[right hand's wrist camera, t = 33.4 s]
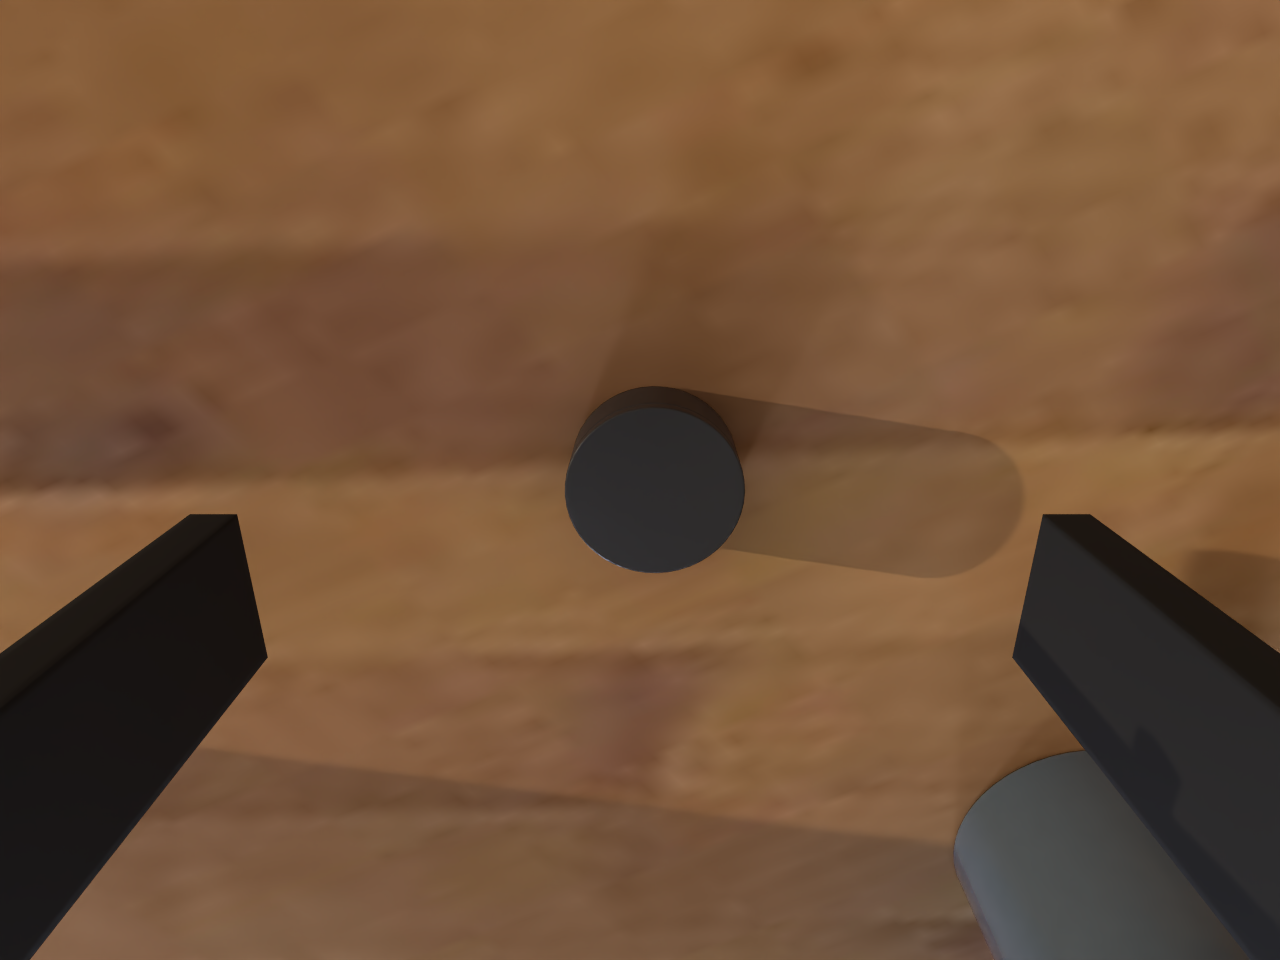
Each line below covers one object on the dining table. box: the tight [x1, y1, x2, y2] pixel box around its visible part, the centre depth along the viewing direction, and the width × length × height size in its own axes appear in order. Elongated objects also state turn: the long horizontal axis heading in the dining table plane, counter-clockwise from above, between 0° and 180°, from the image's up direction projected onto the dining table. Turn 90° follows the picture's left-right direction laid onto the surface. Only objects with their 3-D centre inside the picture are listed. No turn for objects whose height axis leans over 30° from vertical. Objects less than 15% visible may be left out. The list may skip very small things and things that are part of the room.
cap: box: [565, 386, 745, 573], centre depth 16 cm, size 4×4×2 cm
